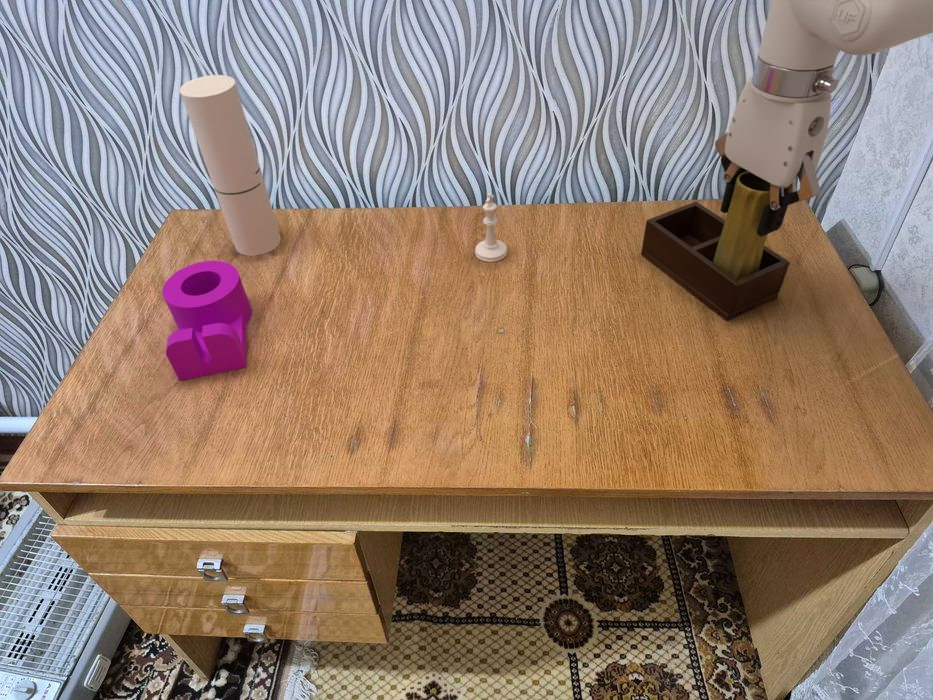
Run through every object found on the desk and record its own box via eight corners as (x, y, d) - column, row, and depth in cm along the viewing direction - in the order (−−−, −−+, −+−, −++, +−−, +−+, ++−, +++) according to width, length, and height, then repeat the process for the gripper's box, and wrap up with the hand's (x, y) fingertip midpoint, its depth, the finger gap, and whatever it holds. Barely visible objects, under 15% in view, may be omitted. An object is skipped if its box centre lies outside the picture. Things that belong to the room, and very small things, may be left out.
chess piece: (469, 257, 99) (465, 199, 92) (483, 239, 102) (481, 182, 95) (498, 265, 97) (497, 206, 90) (512, 247, 101) (512, 189, 94)
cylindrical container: (286, 230, 107) (242, 74, 90) (272, 256, 102) (223, 97, 84) (244, 229, 108) (192, 75, 90) (228, 255, 103) (170, 97, 85)
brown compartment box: (688, 235, 101) (696, 201, 96) (777, 298, 89) (790, 262, 85) (640, 254, 98) (646, 219, 94) (726, 321, 86) (737, 285, 82)
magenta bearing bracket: (181, 303, 95) (165, 268, 90) (251, 290, 96) (239, 255, 92) (173, 381, 83) (154, 346, 79) (252, 366, 85) (238, 330, 80)
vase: (746, 295, 86) (777, 199, 76) (701, 279, 88) (725, 184, 79) (763, 271, 89) (794, 176, 79) (719, 256, 92) (744, 163, 82)
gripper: (886, 94, 66) (826, 244, 78) (756, 43, 77) (721, 182, 89) (833, 112, 63) (780, 265, 76) (706, 57, 75) (678, 198, 87)
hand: (749, 219), depth 83 cm, fingers closed on vase, 5 cm apart
